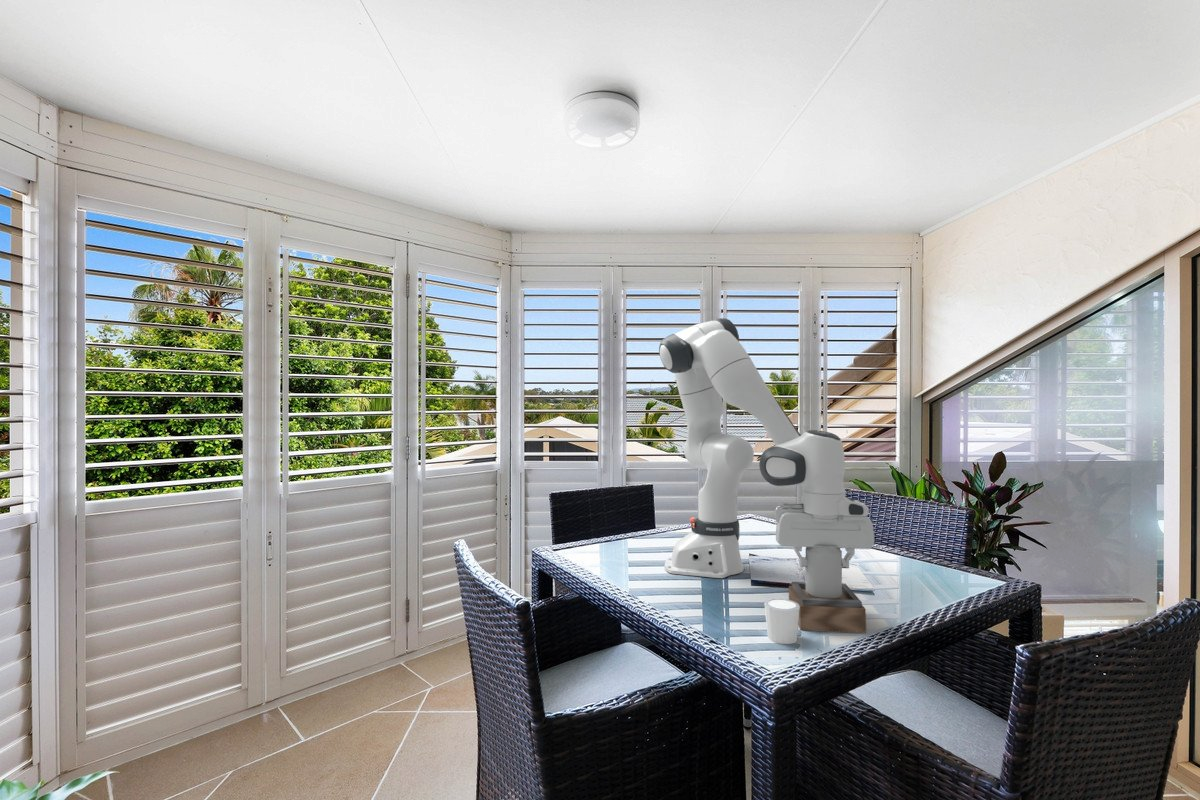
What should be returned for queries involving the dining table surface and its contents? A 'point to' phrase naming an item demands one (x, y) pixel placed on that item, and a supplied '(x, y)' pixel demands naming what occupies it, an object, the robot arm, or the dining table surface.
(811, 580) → the can
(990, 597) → the dining table surface
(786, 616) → the white cylinder
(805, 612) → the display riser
